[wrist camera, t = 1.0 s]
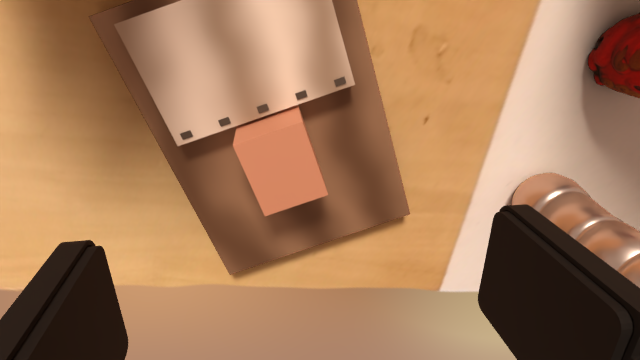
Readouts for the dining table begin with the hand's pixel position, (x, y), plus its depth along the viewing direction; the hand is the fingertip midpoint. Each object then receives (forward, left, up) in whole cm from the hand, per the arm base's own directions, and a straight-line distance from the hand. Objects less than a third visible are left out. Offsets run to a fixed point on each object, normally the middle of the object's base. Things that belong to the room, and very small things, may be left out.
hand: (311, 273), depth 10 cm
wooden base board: (+2, +4, -26) cm, 26 cm away
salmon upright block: (+2, +5, -23) cm, 24 cm away
